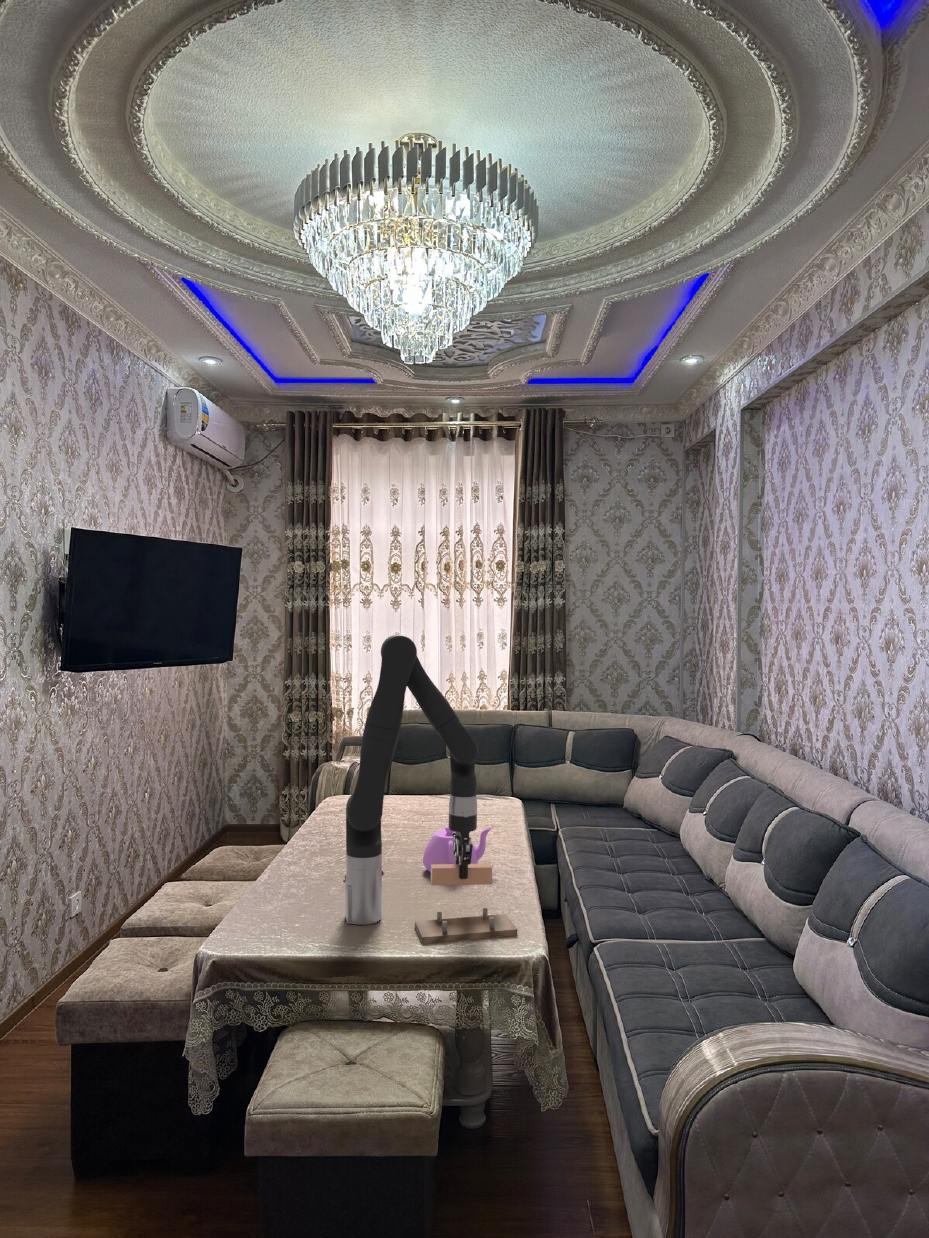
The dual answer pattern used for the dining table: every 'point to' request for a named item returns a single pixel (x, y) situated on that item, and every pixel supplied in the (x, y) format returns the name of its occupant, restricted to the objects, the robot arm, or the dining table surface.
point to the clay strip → (450, 874)
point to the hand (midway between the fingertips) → (461, 875)
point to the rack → (465, 928)
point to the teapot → (449, 849)
